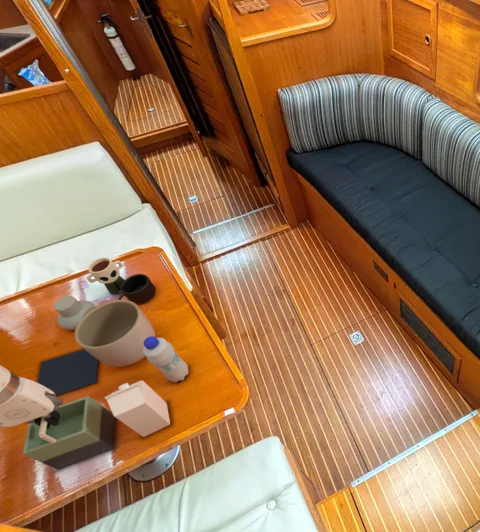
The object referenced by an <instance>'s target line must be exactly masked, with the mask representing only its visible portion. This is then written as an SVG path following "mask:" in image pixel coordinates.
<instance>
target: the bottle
mask: <svg viewBox="0 0 480 532" xmlns="http://www.w3.org/2000/svg"><path fill="white" fill-rule="evenodd" d="M143 352H144V354H145V358H146V359H147V361H148V362H149V363H150V364H151V365H154V366H155V367H156V368H157V369H158V370H159V371H160V372H161V373H162V374H163V377H165V379H166V380H167V381H170V382H172V383H178V382H179V381H184V380H185V377H186V376H188V375H189V365H188V364H187V363H186V362H185V361H184V360H183V359H182V358H181V357H180V355H178V353H177V352H176V351H175V348H174V347H173V345H172V343H170V342H169V341H168V340H167V339H165V338H163V337H156V336H155V337H154V336H150V337H148V338H146V339H145V340H144V349H143Z"/></svg>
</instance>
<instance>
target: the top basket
mask: <svg viewBox="0 0 480 532" xmlns="http://www.w3.org/2000/svg"><path fill="white" fill-rule="evenodd" d="M102 406H103V405H102V404H101V403H100V402H98V401H96V399H93V398H92V397H91V396H89V395H87V396H84V397H81V398H78V399H76V400H72V401H69V402H66V403H63V404H62V405H61V406H59V407H57V408H55V409H54V410H55V411H57V412H58V413H60V419H59V423H58V425H56V426H54V425H52V424H50V426H49V428H48V429H46V427H47V421H45V420H44V419H45V418H44V417H43V416H42V418H41V423H40V426H38V425H37V424H35V423H32V424H29V423H27V424H28V425H27V429H26V435H25V441H24V445H23V451H22V455H23V456H25V457H28V458H30V459H32V460H34V461H36V462H39V463H41V462H44V461H46V460H49V459H52V458H55V457H57V456H60V455H63V454H66V453H68V452H71V451H74V450H76V449H79V448H82V447H85V446H87V445H90V444H93V443H95V442H98V441H100V432H101V418H102Z"/></svg>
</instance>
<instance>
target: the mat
mask: <svg viewBox="0 0 480 532" xmlns="http://www.w3.org/2000/svg"><path fill="white" fill-rule="evenodd" d="M99 362H100V361H99V360H98V359H96V358H95V357H94V356H92V355H91V354H90V353H89V352H87V351H86V350H85V349H84V348H82V349H79V350H76V351H74V352H71V353H67V354H63V355H60V356H57V357H54V358H50V359H47V360H43V361H41V363H40V368H39V373H38V379H37V383H39V384H41V385H43V386H45V387H46V388H48V389H50V390H51V391H53V392H54V393H55V394H56V396H55V397H58V396H61V395H64V394H67V393H70V392H73V391H76V390H79V389H81V388H85V387H87V386H91V385H94V384H97V383H98V372H99Z"/></svg>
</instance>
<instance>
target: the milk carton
mask: <svg viewBox="0 0 480 532" xmlns="http://www.w3.org/2000/svg"><path fill="white" fill-rule="evenodd" d="M117 389H118V390H115V391H113V392H111V393H110V394H108V395H106V396H104V399H105V400H106V402H107V405H108V406H109V408H110V412H111V413H113V415H114V417H115V419H117V420H119V421H120V422H122V424H124V425H125V426H126V427H128V428H130V429H131V430H133V431H134V432H135V433H137V434H138V435H139V436H141V437H143V438H144V437H147V436H149V435H151V434H154V433H155V432H158V431H160V430H162V429H164V428H166V427H168V426H170V425H171V419H170V414H169V409H168V408H169V407H168V403H167V401H165V400H164V399H163V398H162V397H161V396H160V395H159V394H158V393H157V392H156V391H154V390H153V389H152V387H150V386H149V384H147V383H146V382H145V381H144V380H143V379H141V380H139V381H137V382H134V383H132V384H129V383H128V382H125V383H123V384H121V385H120V386H118V388H117Z"/></svg>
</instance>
